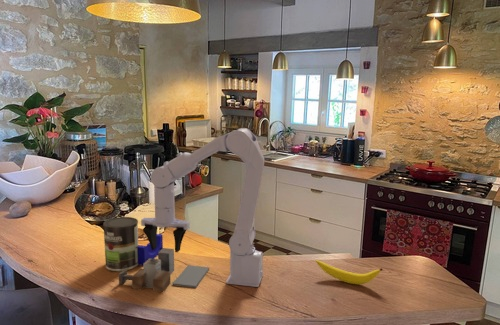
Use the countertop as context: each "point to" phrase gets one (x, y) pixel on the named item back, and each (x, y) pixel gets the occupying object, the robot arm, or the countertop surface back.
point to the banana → (348, 274)
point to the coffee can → (121, 243)
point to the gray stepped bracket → (166, 259)
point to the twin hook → (151, 271)
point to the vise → (159, 280)
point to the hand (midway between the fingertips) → (165, 249)
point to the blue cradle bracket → (149, 250)
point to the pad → (191, 276)
